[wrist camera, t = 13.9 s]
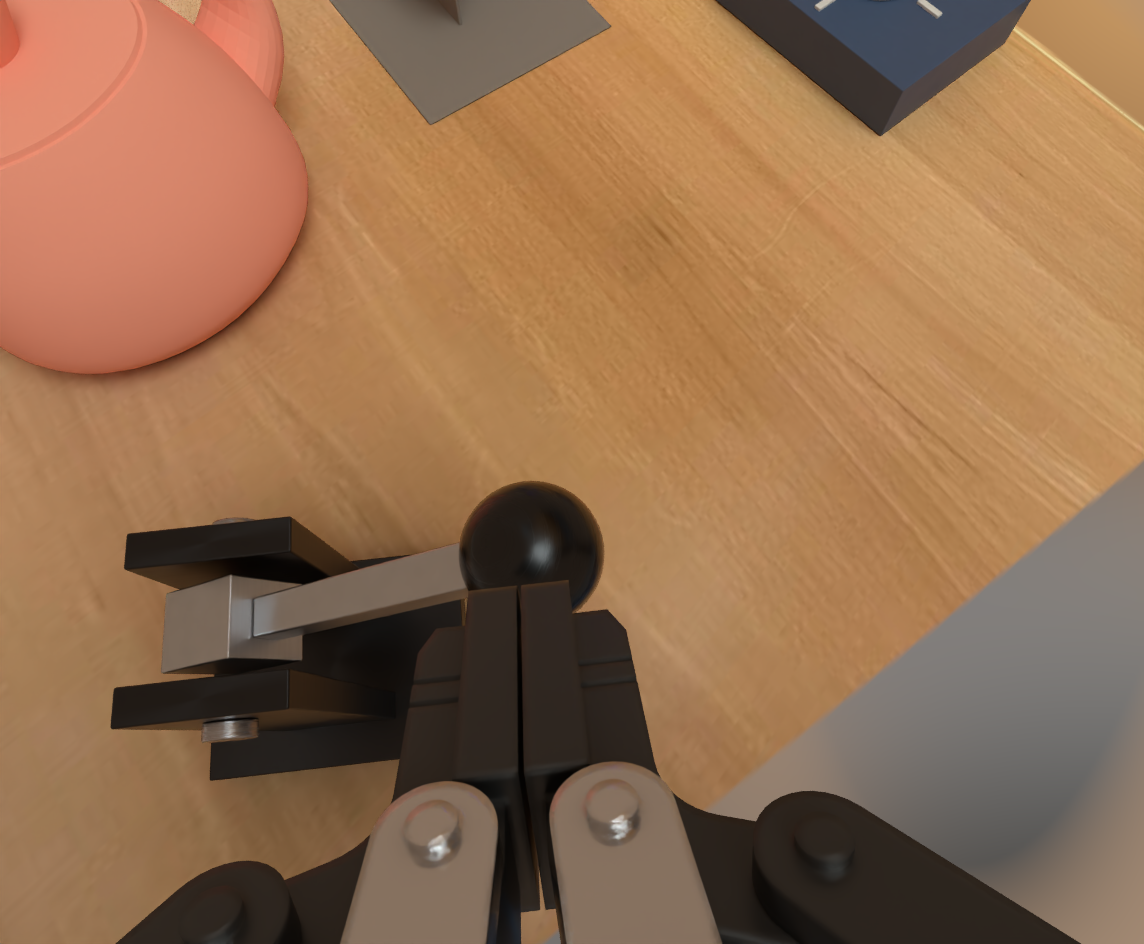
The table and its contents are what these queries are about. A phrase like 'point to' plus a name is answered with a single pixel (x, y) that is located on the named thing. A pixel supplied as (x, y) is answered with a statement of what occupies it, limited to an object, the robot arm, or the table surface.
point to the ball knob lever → (292, 691)
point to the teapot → (139, 177)
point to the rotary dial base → (881, 46)
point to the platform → (465, 43)
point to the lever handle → (386, 584)
